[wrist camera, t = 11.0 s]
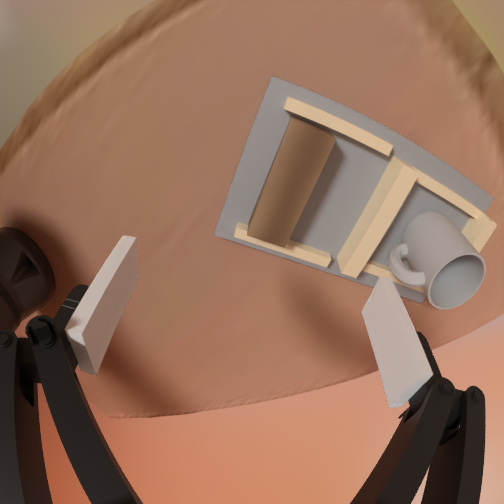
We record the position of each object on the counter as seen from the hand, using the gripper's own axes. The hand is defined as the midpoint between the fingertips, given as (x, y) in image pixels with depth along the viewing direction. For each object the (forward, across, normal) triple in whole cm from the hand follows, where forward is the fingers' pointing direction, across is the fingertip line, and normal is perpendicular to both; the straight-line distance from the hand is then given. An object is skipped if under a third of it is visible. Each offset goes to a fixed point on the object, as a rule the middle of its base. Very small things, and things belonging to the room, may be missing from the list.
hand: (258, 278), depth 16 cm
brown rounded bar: (+17, +3, 0) cm, 17 cm away
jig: (+18, +13, -2) cm, 22 cm away
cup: (+16, +20, -3) cm, 26 cm away
